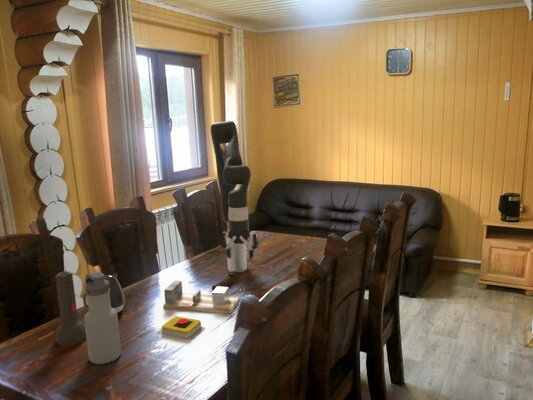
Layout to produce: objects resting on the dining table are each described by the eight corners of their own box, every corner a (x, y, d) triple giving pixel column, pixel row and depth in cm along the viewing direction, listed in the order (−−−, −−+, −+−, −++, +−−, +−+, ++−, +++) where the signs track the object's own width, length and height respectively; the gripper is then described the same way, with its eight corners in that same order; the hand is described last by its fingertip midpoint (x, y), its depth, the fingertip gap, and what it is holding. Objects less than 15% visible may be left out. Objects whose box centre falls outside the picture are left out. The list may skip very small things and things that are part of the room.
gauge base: (176, 296, 185) (174, 279, 183) (239, 300, 179) (238, 283, 177) (163, 308, 173) (162, 290, 172) (230, 313, 167) (229, 295, 166)
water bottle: (83, 356, 140) (73, 274, 134) (112, 345, 146) (103, 266, 141) (96, 369, 133) (86, 282, 127) (126, 356, 139) (118, 273, 134)
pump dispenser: (131, 307, 175) (127, 271, 172) (115, 319, 165) (111, 281, 162) (109, 305, 178) (105, 270, 175) (92, 316, 168) (88, 279, 165)
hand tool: (219, 295, 185) (219, 285, 184) (211, 293, 187) (211, 283, 186) (241, 280, 202) (241, 270, 201) (234, 278, 203) (234, 269, 203)
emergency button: (191, 329, 147) (154, 322, 153) (192, 341, 148) (155, 334, 154) (205, 317, 156) (170, 311, 161) (206, 329, 156) (171, 322, 162)
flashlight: (49, 345, 148) (74, 348, 145) (40, 275, 143) (65, 277, 140) (70, 331, 157) (93, 334, 154) (61, 265, 152) (85, 267, 150)
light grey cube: (217, 298, 177) (216, 286, 176) (229, 298, 176) (228, 287, 175) (212, 304, 171) (211, 292, 170) (224, 305, 170) (224, 293, 169)
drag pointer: (198, 296, 179) (198, 289, 178) (200, 296, 179) (200, 290, 178) (189, 306, 170) (189, 299, 169) (192, 306, 170) (191, 299, 169)
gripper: (258, 215, 168) (260, 255, 171) (223, 215, 171) (225, 254, 174) (254, 220, 161) (255, 262, 164) (217, 219, 164) (219, 260, 167)
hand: (240, 258), depth 169 cm, fingers open, 8 cm apart
